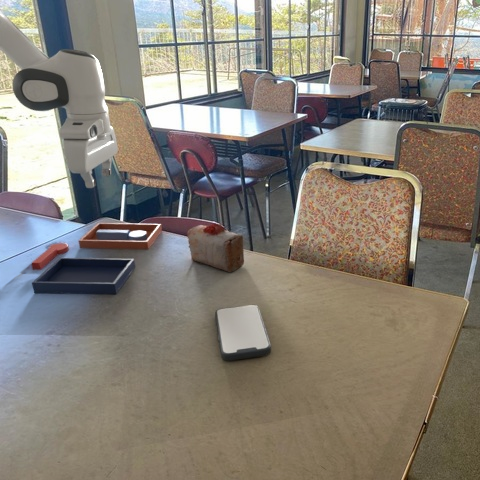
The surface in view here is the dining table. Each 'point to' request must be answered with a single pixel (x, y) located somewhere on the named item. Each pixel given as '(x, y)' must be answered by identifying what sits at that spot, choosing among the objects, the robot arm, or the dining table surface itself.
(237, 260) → the food item
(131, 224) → the terracotta tray
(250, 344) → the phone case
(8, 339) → the dining table surface
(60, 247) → the red spoon
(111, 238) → the blue spoon
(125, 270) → the navy tray
